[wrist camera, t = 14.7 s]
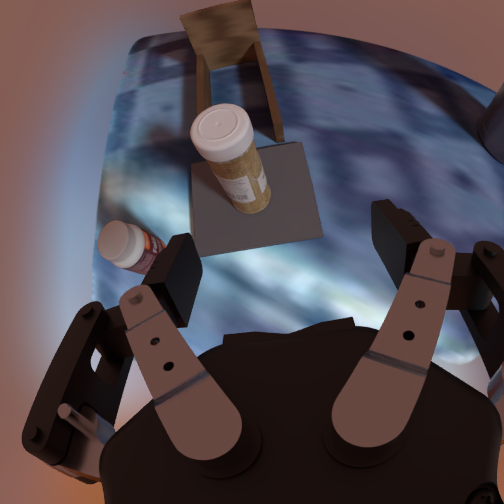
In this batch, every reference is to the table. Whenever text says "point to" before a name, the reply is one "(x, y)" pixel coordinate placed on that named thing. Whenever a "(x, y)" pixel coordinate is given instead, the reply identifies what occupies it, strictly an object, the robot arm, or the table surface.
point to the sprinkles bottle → (232, 155)
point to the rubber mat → (265, 221)
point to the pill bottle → (129, 246)
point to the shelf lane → (228, 49)
